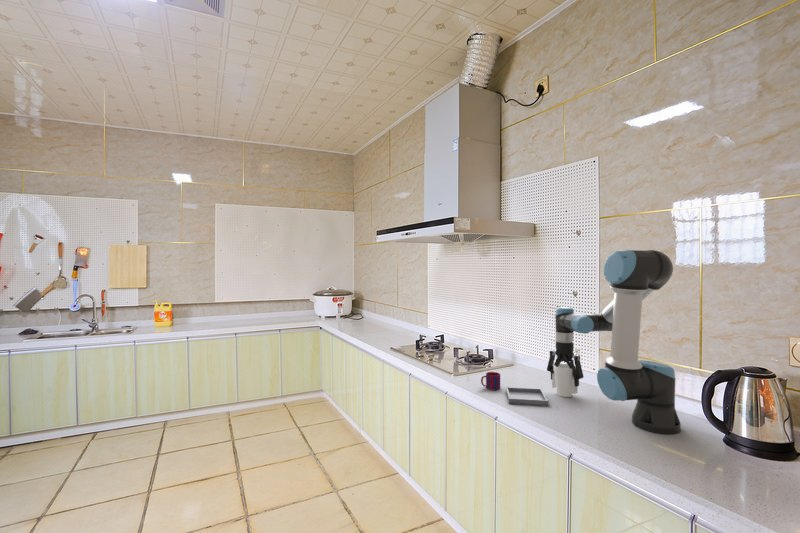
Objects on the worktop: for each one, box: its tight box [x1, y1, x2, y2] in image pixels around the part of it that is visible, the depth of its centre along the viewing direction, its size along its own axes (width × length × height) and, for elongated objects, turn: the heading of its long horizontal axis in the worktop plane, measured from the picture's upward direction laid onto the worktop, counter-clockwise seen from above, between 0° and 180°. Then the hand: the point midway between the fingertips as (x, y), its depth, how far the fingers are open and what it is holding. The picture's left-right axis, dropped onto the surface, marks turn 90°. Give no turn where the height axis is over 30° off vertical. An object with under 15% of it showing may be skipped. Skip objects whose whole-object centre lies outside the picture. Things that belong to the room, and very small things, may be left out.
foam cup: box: [553, 363, 576, 398], centre depth 178 cm, size 10×9×13 cm
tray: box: [505, 386, 549, 407], centre depth 173 cm, size 16×16×2 cm
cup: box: [480, 371, 501, 391], centre depth 188 cm, size 7×10×7 cm
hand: (564, 390), depth 178 cm, fingers closed on foam cup, 9 cm apart
